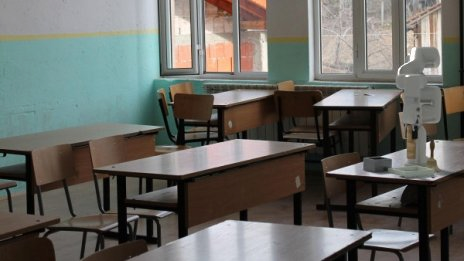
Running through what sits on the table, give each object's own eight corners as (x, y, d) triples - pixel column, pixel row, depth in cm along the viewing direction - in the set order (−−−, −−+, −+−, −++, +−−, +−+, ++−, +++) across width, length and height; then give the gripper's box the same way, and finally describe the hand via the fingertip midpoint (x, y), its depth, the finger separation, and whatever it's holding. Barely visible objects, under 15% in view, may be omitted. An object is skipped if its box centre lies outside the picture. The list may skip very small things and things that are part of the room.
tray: (416, 171, 433) (416, 165, 432) (434, 175, 420) (434, 169, 420) (388, 174, 425) (388, 168, 425) (405, 178, 413) (405, 171, 413)
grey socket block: (380, 170, 438) (380, 156, 437) (391, 173, 429) (391, 158, 428) (363, 171, 434) (363, 157, 433) (374, 174, 425) (374, 160, 424)
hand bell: (421, 169, 439) (421, 138, 437) (437, 169, 440) (437, 137, 438) (426, 172, 431) (426, 140, 429) (442, 171, 431) (443, 139, 430)
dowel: (412, 157, 424) (412, 124, 423) (417, 158, 420) (418, 125, 419) (404, 158, 423) (405, 125, 421) (410, 159, 419) (410, 125, 417)
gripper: (429, 101, 413) (428, 139, 415) (407, 99, 428) (407, 136, 430) (416, 101, 410) (415, 140, 411) (395, 100, 425) (394, 137, 427)
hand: (411, 138), depth 421 cm, fingers closed on dowel, 4 cm apart
